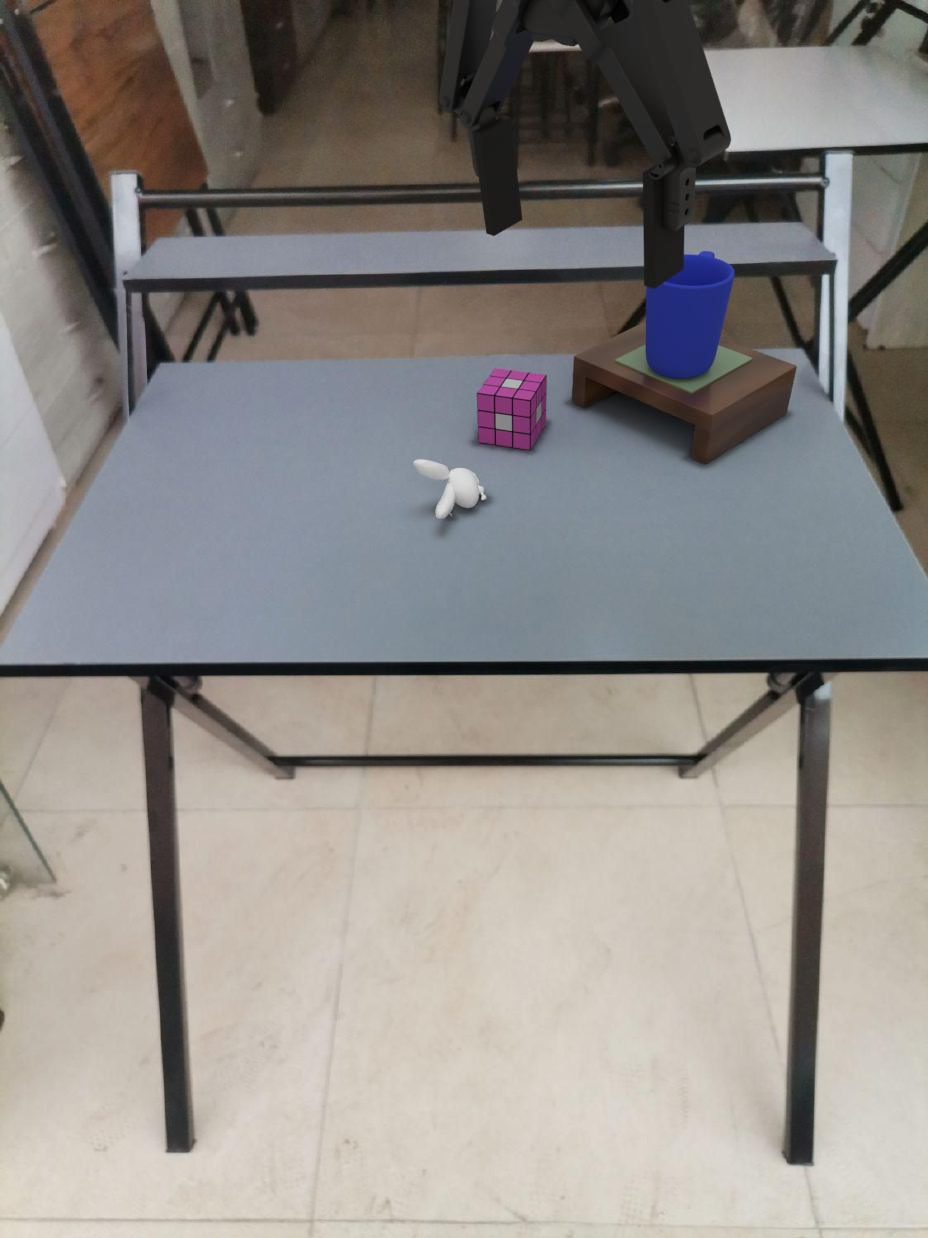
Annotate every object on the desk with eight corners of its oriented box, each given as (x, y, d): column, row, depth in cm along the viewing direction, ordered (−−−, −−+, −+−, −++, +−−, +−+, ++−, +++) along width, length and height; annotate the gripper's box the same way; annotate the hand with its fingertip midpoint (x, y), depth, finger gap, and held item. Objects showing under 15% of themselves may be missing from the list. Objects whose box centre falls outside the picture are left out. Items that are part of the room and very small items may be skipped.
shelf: (787, 413, 98) (797, 363, 94) (705, 464, 91) (713, 413, 87) (654, 360, 108) (658, 313, 104) (571, 402, 101) (573, 354, 97)
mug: (735, 340, 98) (751, 245, 92) (709, 391, 90) (724, 291, 83) (660, 329, 101) (669, 236, 94) (628, 378, 93) (636, 280, 86)
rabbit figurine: (505, 508, 87) (447, 509, 81) (478, 529, 89) (420, 531, 83) (480, 454, 88) (422, 451, 82) (454, 476, 91) (396, 474, 85)
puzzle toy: (478, 442, 96) (476, 392, 92) (495, 416, 100) (494, 367, 96) (530, 450, 94) (530, 400, 90) (546, 423, 98) (547, 374, 94)
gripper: (331, -162, 49) (409, 230, 64) (721, -177, 34) (702, 333, 50) (436, -195, 52) (487, 188, 67) (836, -222, 37) (785, 273, 53)
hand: (578, 250), depth 58 cm, fingers open, 13 cm apart
